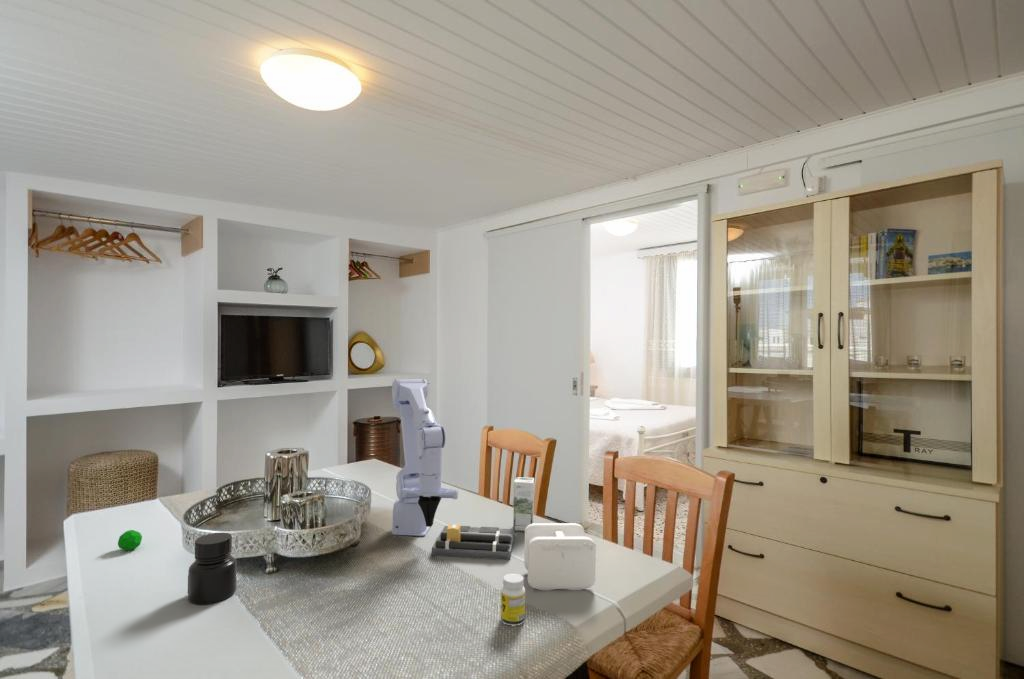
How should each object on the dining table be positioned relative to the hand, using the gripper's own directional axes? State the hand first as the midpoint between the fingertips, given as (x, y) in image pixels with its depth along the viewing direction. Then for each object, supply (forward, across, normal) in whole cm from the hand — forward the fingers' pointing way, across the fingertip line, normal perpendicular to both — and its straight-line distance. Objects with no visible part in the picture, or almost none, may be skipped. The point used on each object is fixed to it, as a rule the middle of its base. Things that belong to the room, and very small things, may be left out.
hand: (429, 525), depth 136 cm
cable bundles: (+4, +12, +1) cm, 13 cm away
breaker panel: (+6, +11, +5) cm, 14 cm away
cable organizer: (+7, +33, -14) cm, 37 cm away
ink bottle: (+7, -40, -29) cm, 49 cm away
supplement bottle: (+7, +24, -32) cm, 41 cm away
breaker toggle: (+4, +6, 0) cm, 8 cm away
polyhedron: (+7, -76, -9) cm, 76 cm away
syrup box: (+7, +23, +19) cm, 31 cm away
